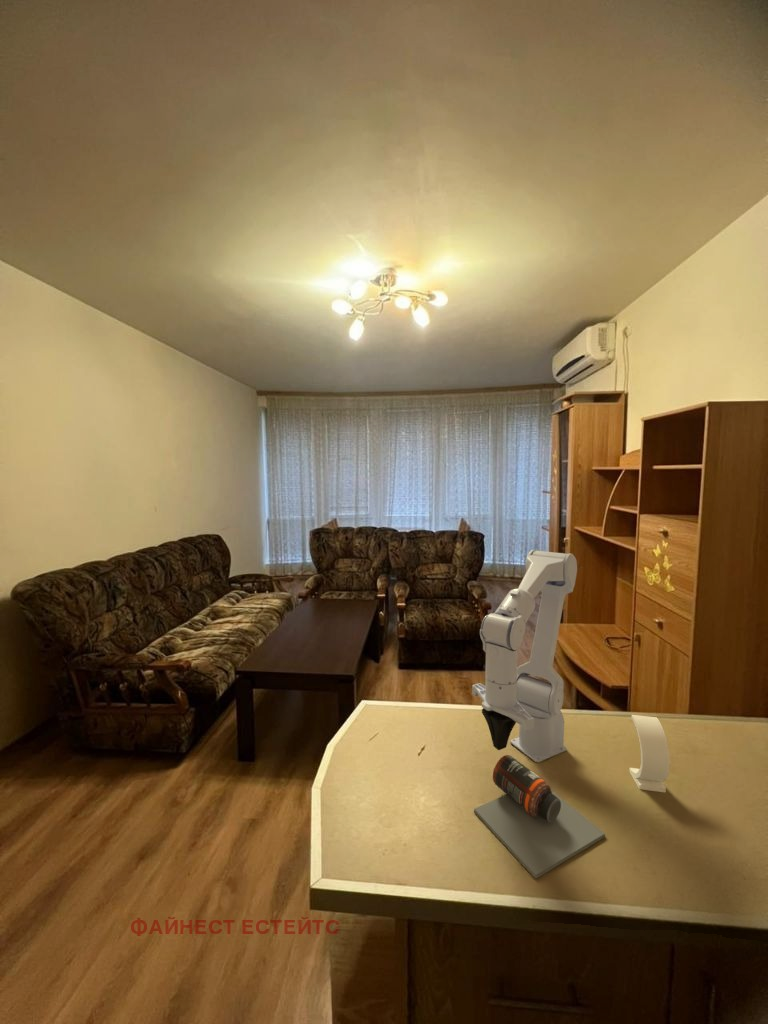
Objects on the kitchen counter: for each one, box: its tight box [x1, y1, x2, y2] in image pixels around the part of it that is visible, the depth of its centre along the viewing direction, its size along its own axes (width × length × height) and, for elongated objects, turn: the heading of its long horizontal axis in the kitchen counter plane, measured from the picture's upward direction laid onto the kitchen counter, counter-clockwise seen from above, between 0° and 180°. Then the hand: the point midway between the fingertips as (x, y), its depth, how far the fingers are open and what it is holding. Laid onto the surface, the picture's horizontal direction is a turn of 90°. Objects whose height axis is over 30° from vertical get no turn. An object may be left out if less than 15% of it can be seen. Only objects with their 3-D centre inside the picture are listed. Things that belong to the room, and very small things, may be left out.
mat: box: [473, 789, 606, 880], centre depth 70 cm, size 16×14×1 cm
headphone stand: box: [628, 714, 671, 793], centre depth 79 cm, size 5×6×12 cm
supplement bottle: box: [492, 754, 561, 822], centre depth 73 cm, size 6×6×11 cm
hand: (499, 746), depth 78 cm, fingers closed
